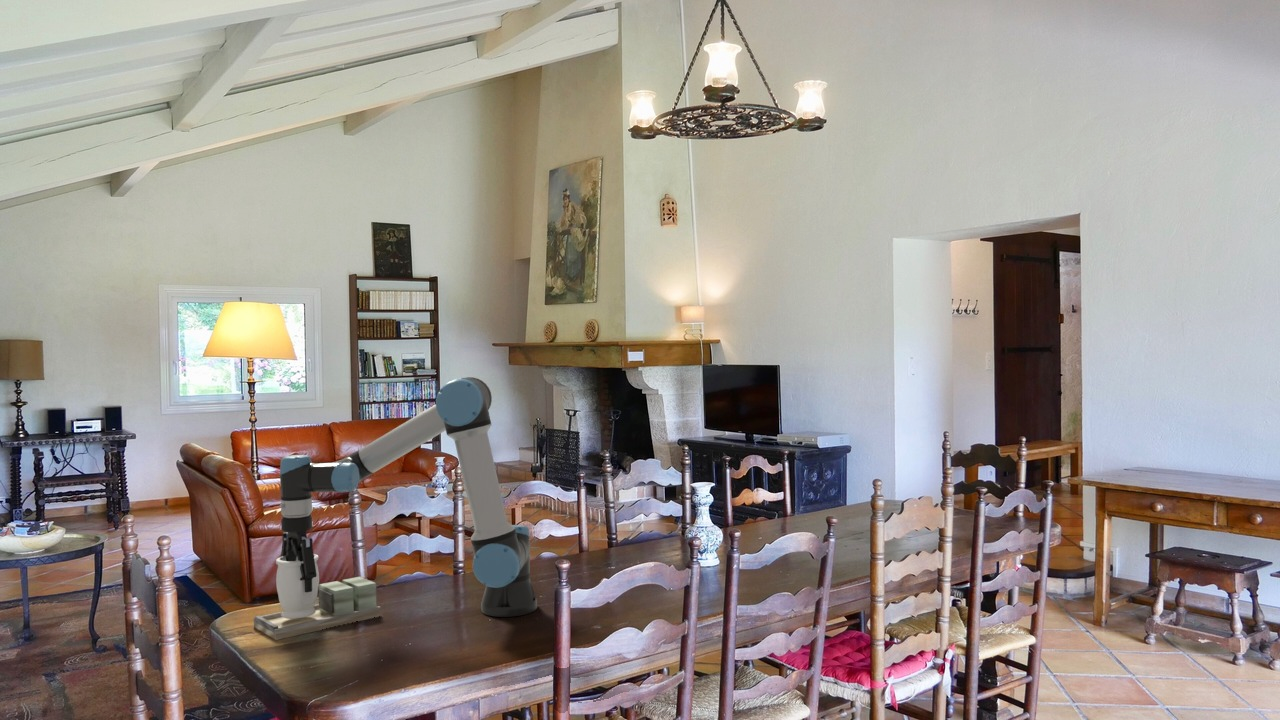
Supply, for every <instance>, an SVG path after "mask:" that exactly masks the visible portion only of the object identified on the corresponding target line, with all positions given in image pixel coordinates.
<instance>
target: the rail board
mask: <svg viewBox="0 0 1280 720" xmlns="http://www.w3.org/2000/svg"><path fill="white" fill-rule="evenodd" d="M314 608H315V610H316V612H315V613H314V614H313V615H311V616H308V617H304V618H298V619H287V618H283V617H282V616H281V614H282V612H283V611H279V612H273V613H269V614H265V615H256V616H254V617H253V628H255V629H257V630H258V631H260V632H262V633H263V634H265V635H266V636H268V637H270V638H272V639H274V640H275V641H277V640H278V641H279V640H282V639H287V638H291V637H296V636H299V635H305V634H308V633H312V632H317V631H322V629H323V630H326V628H327V629H330V627H331V628H335V627H334V626H336V627H339V626H338V625H340V626H344V625H343V624H345V625H348V624H347V623H349V624H352V622H353V623H357V622H356V621H358V622H363V621H367V620H371V619H375V618H379V616H380V617H382V611H381V610H382V609H381V608H382V607H381V606H379V605H378V606H377V583H376V582H374V581H372V580H369V579H366V578H364V577H362V576H355V577H350V578H346V579H342V580H341V581H338V580H336V581H331V582H330V581H329V582H325V583H319V587H318V603H317V604H316V603H315V605H314ZM374 617H375V618H374Z"/></svg>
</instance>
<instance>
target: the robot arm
mask: <svg viewBox="0 0 1280 720" xmlns="http://www.w3.org/2000/svg"><path fill="white" fill-rule="evenodd" d="M435 398H436V399H435V403H434V404H433V405H432V406H430V407H429V408H426V409H425V410H424V411H422V412H420V413H418V414H417V415H415V416H414V417H412V418H410V419H408V420H407V421H405V422H403V423H402V424H400V425H398V426H397V427H396V428H393V429H391V430H389V432H387V433H385V434H383V435H382V436H380V437H378V438H376V439H374V441H373V440H372V442H370V443H369V444H367V445H365V446H363V447H361V448H360V449H358V450H357V451H354V452H352V453H351V454H349V455H348V456H346V457H345V458H342V459H339V460H336V461H334V462H319V463H318V462H312V459H311V456H310V455H307V454H294V455H293V454H292V455H286V456H283V457H282V458H281V459H280V465H279V467H280V470H279V480H280V504H279V505H278V506H279V508H280V514H281V515H282V517H281V518H280V520H281V521H280V523H281V524H280V526H281V527H280V528H281V529H280V530H281V531H282V534H281V538H282V541H281V542H282V543H281V544H282V545H281V552H280V553H281V554H280V555H281V556H280V557H282V556H286V561H296V557H298V561H300V562H301V561H303V563H301V566H300V570H301V574H302V577H301V578H300V581H301V605H302V606H303V605H308V604H313V586H312V578H314V577H316V568H315V561H314V554H315V553H314V548H313V544H314V543H313V538H311V537H310V538H308V535H307V531H310V530H311V529H312V528H313V516H312V512H313V497H312V493H321V492H322V493H344V492H347V493H348V492H353V491H356V490H357V487H358V486H359V483H361V482H362V481H364V480H365V479H366V478H368V477H369V476H371V475H372V474H374V473H376V472H377V471H380V470H381V469H382V468H384V467H386V466H388V465H389V464H392V462H395V461H396V460H398V459H399V458H401V457H403V456H404V455H406V454H408V453H410V452H411V451H413V450H415V449H416V448H419V447H420V446H422V445H424V444H425V443H427V442H428V441H430V440H432V439H433V438H435V437H437V436H438V435H440V434H442V433H443V432H445V433H446V436H448V437H449V438H451V439H452V440H453V441H454V445H455V448H456V453H457V458H458V462H459V466H460V471H461V475H462V479H463V480H462V481H463V484H464V489H465V494H466V497H467V502H468V506H469V511H470V516H471V519H472V523H473V529H474V531H473V534H472V535H471V537H470V542H471V548H472V551H473V555H474V556H473V557H472V571H473V575H474V576H475V578H476V579H477V580H478V581H479V582H480V583H482V585H484V586H485V589H484V592H483V595H482V600H481V603H480V608H481V609H480V610H481V611H480V612H481V613H482V614H484V615H487V616H489V617H497V618H498V617H499V618H509V617H518V616H524V615H528V614H532V613H533V612H535V611H536V610H537V608H538V600H537V597H536V593H535V591H534V587H533V585H532V582H531V559H530V558H531V557H530V556H531V555H530V554H531V553H530V551H531V550H530V538H531V535H530V530H529V529H530V528H529V527H528V526H527V525H523V524H511V523H509V522H508V518H507V514H506V510H505V505H504V501H503V496H502V492H501V488H500V487H501V486H500V484H499V479H498V474H497V470H496V465H495V461H494V460H495V459H494V457H493V452H492V448H491V443H490V439H489V435H488V431H489V430H490V428H491V426H492V422H491V421H492V419H491V416H490V413H489V412H490V411H489V410H490V408H491V406H492V399H493V397H492V391H491V389H490V388H489V386H488V385H487V383H485V382H484V381H483V380H481V379H479V378H477V377H472V376H471V377H470V376H469V377H467V376H466V377H459V378H455V379H452V380H450V381H448V382H446V383H445V384H444V385H443V386H442V387H441V388H440V389H439V391H438V392H437V395H436V397H435Z"/></svg>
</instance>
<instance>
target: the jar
mask: <svg viewBox="0 0 1280 720" xmlns="http://www.w3.org/2000/svg"><path fill="white" fill-rule="evenodd" d="M313 554H314V561H315V568H316V577H314V578H312V586H313V604H308V605H303V606H302V605H301V581H300V578H301V577H302V574H301V570H300V566H301V563H303V561H301V562H300V561H298V557H296V561H286V556H282V557H281V556H279V557H278V558H276V559H275V564H276V565H277V570H276V577H275V578H276V582H275V583H276V584H275V585H276V591H277V592H276V593H277V595H278V601H279V604H280V606H281V608H282V611H281V612H282V614H281V616H282V617H283V618H287V619H298V618H304V617H308V616H311V615H313V614H314V613H315V612H316V610H315V608H314V605H316V603H317V602H316V601H317V599H318V595H319V584H320V572H319V567H318V563H317V562H318V560H319V555H318V554H316V553H313Z"/></svg>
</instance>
